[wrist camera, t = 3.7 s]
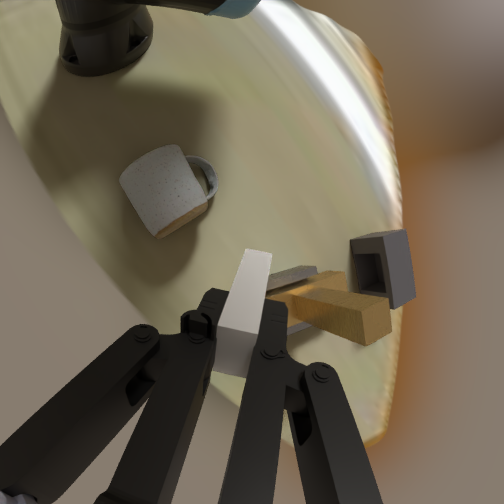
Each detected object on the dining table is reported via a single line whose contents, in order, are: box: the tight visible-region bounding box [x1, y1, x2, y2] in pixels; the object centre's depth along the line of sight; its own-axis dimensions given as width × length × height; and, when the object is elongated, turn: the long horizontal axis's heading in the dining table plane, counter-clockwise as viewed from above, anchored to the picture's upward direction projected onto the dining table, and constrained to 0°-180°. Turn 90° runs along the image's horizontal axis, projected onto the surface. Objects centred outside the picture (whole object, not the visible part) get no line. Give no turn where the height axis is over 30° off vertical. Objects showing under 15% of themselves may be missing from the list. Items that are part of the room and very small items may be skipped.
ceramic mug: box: [119, 144, 219, 239], centre depth 29 cm, size 11×8×8 cm
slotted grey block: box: [350, 229, 416, 310], centre depth 37 cm, size 10×5×7 cm, turn 14°
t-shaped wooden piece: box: [265, 271, 392, 346], centre depth 27 cm, size 4×14×16 cm, turn 104°
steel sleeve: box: [266, 266, 318, 336], centre depth 34 cm, size 7×8×4 cm
